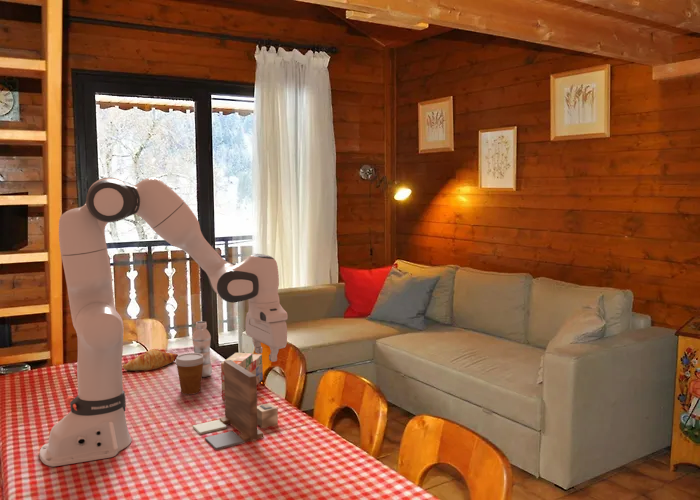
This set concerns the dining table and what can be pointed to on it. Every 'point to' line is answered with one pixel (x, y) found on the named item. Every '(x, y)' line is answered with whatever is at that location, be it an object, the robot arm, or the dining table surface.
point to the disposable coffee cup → (190, 372)
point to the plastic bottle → (203, 346)
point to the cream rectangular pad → (209, 426)
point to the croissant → (150, 360)
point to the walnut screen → (241, 401)
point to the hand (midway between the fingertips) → (265, 356)
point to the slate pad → (224, 440)
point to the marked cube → (267, 415)
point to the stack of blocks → (245, 366)
